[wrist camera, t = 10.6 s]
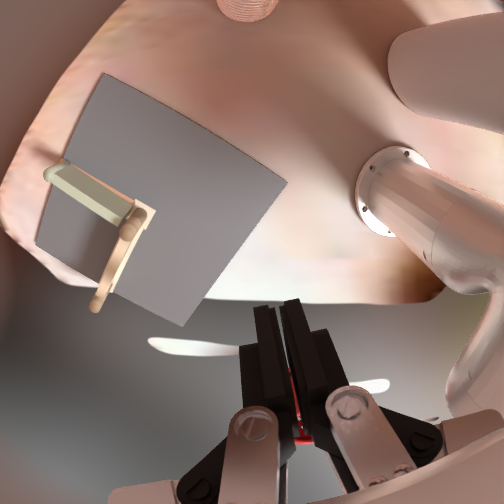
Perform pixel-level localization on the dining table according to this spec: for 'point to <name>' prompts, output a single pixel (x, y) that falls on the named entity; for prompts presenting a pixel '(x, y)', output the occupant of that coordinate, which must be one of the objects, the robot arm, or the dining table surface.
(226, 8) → the water bottle
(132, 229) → the fence fixed
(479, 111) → the cylinder vase
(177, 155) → the board
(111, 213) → the bar
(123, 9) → the dining table surface
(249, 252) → the dining table surface
